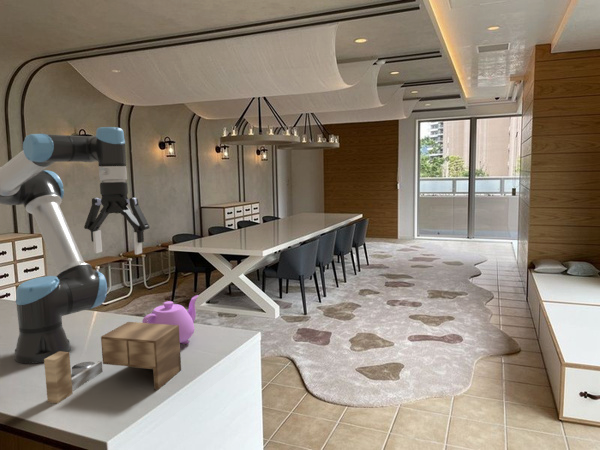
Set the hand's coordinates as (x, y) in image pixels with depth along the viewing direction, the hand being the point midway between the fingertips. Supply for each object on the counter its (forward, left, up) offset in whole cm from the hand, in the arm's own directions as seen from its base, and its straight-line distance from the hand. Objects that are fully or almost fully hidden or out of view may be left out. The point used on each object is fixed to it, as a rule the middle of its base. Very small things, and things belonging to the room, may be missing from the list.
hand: (118, 253), depth 139 cm
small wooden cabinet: (+14, -12, -32) cm, 37 cm away
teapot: (+9, +13, -32) cm, 36 cm away
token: (-4, -14, -32) cm, 35 cm away
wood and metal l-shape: (0, -20, -32) cm, 38 cm away
